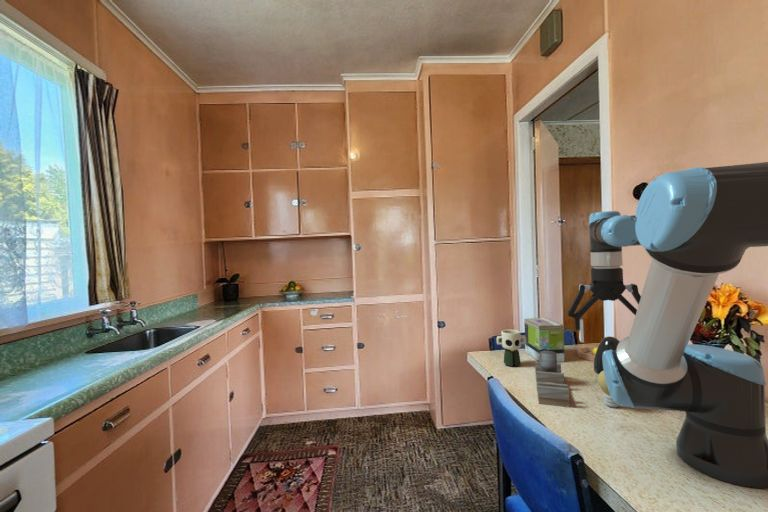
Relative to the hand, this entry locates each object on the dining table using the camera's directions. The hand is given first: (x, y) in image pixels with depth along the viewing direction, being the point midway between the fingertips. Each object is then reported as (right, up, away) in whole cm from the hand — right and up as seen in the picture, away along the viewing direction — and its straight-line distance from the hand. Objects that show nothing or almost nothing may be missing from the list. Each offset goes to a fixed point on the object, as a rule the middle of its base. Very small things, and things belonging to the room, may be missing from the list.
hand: (609, 342), depth 98 cm
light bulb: (+1, -18, 0) cm, 18 cm away
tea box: (+2, -17, +45) cm, 48 cm away
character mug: (-14, -18, +37) cm, 43 cm away
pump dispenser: (+11, -17, +15) cm, 26 cm away
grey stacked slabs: (-10, -18, +13) cm, 25 cm away
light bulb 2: (+23, -16, +41) cm, 50 cm away
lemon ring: (+23, -16, +42) cm, 50 cm away
